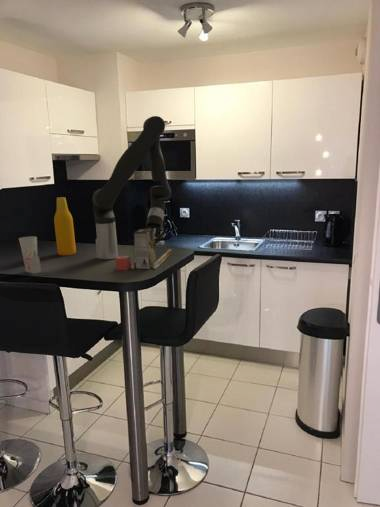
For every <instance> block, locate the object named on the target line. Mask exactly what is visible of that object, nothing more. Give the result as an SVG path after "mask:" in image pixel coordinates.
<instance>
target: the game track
mask: <svg viewBox="0 0 380 507" xmlns="http://www.w3.org/2000/svg"><path fill="white" fill-rule="evenodd" d="M172 253H173V249H172V248H169V249H168V250H167V251H166V252H165V253H164V254H162V256H160V257H159V258H158V259H156V262H155V263H154V264H153V266H152V268H153V269H154V270H155V269H157V268H159V266H160V265H162V264H163V262H165V260H166V259H168V258H169V256H171V255H172ZM130 269H133V270H134V269H136V259H135V260H134V261H133V262H131V267H130Z"/></svg>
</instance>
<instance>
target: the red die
mask: <svg viewBox="0 0 380 507" xmlns="http://www.w3.org/2000/svg"><path fill="white" fill-rule="evenodd" d="M114 259H115V260H114V261H115V262H114V263H115V270H116V271H128V270H129V269H131V263H132V261H131V256H130V255H118V257H117V258H114Z"/></svg>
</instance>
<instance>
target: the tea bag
mask: <svg viewBox="0 0 380 507" xmlns="http://www.w3.org/2000/svg"><path fill="white" fill-rule="evenodd" d="M23 264H24V271H25V273H29V274H31V275H34V274H39V273H42V266H41V259H40V257H39V255H38V253H37V254H36V252H35V250H31V249H26V253H25V256H24V259H23Z"/></svg>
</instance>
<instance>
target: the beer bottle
mask: <svg viewBox="0 0 380 507" xmlns="http://www.w3.org/2000/svg"><path fill="white" fill-rule="evenodd" d="M73 219H74V218H73V215H72V214H71V212H70V211H69V208H68V203H67V199H66V197H64V196H63V197H56V210H55V214H54V218H53V221H54V222H53V223H54V230H55V232H54V233H55V239H56V248H57V254H58V255H59V256H63V257H64V256H73V255H75V254H76V253H77V247H76V239H75V229H74V228H75V227H74V220H73Z"/></svg>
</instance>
